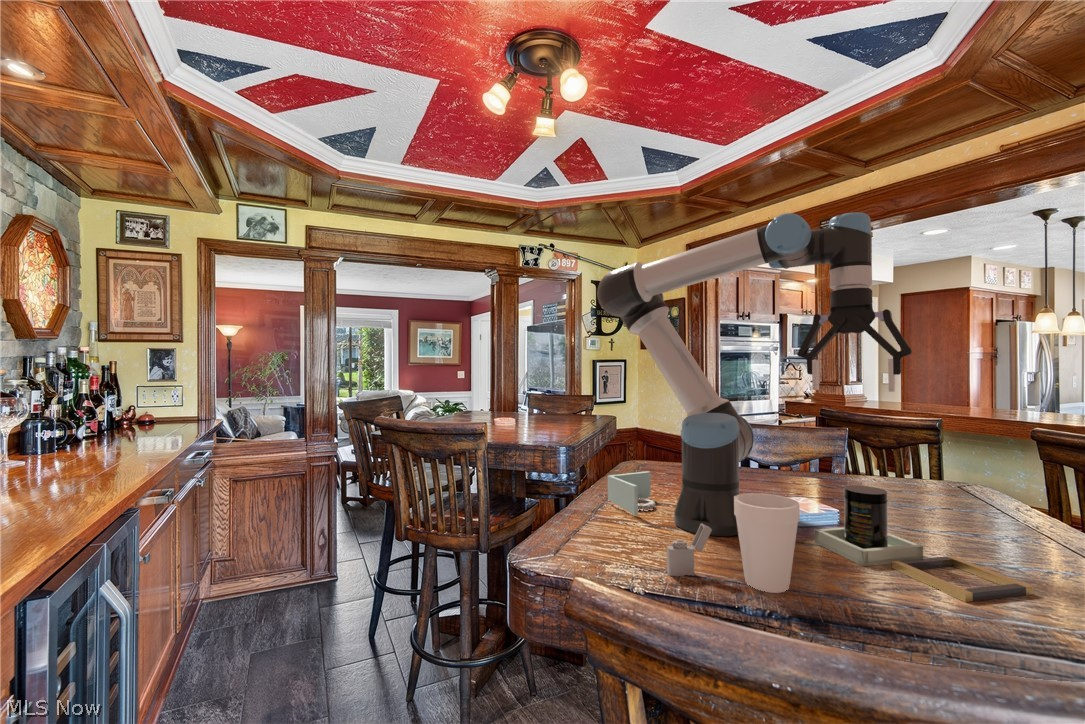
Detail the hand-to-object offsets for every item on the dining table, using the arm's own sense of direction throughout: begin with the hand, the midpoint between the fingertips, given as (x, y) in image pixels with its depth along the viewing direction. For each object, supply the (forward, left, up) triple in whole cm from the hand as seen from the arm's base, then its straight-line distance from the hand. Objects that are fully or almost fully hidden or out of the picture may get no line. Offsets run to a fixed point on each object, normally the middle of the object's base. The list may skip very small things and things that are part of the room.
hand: (852, 390), depth 103 cm
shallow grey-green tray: (-8, -12, -29) cm, 32 cm away
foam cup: (-34, -20, -29) cm, 49 cm away
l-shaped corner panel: (-37, +24, -29) cm, 53 cm away
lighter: (-44, -14, -29) cm, 54 cm away
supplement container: (-8, -11, -28) cm, 31 cm away
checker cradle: (-4, -25, -29) cm, 38 cm away
